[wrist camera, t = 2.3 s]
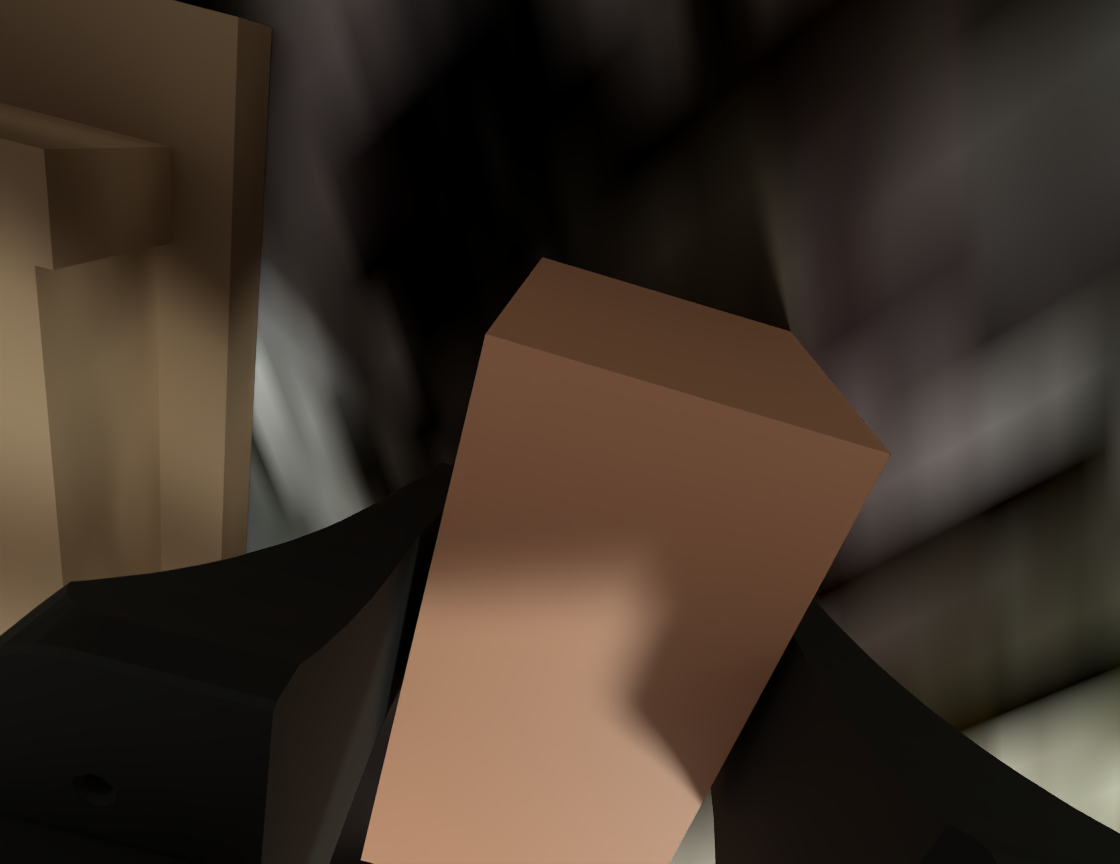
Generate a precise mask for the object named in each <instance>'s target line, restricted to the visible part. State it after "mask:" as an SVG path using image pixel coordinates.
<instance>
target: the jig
mask: <svg viewBox="0 0 1120 864" xmlns="http://www.w3.org/2000/svg"><path fill="white" fill-rule="evenodd" d="M271 35H272V27H269V26H266V25H262V24H259V23H256V22H253V21H249V20H246V19H243V18H240V17H236V16H232V15H228V14H224V13H220V12H217V11H213V10H209V9H205V8H201V7H197V6H194V5H190V4H186V3H182V2H178V1H174V0H0V635H2V634H3V633H4V632H5V631H7V630H8V629H9V628H10V627H12V626H13V625H14V624H15V623H17V622H18V621H19V620H20V619H22V618H23V617H24V616H25V615H27V614H28V613H29V612H30V611H32V610H33V609H34V608H35V607H37V606H38V605H39V604H41V603H42V602H43V601H45V600H46V599H47V598H49V597H50V596H51V595H53V594H54V593H55V592H57V591H58V590H59V589H61V588H62V587H64V586H65V585H66V584H68V583H69V582H71V581H84V580H94V579H103V578H112V577H121V576H130V575H139V574H148V573H155V572H161V571H168V570H174V569H179V568H185V567H190V566H196V565H201V564H206V563H210V562H215V561H220V560H224V559H229V558H233V557H237V556H240V555H244V554H246V542H247V522H248V502H249V481H250V461H251V441H252V420H253V400H254V380H255V360H256V339H257V319H258V299H259V278H260V258H261V238H262V218H263V197H264V177H265V157H266V137H267V116H268V96H269V76H270V55H271Z"/></svg>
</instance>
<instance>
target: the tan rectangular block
mask: <svg viewBox="0 0 1120 864" xmlns="http://www.w3.org/2000/svg"><path fill="white" fill-rule="evenodd" d="M890 455H891V454H890V452H889V451H888V450H887V449H886V448H885V446H884V445H883V444H882V443H881V441H880V440H879V439H878V438H877V437H876V435H875V434H874V433H873V432H872V430H871V429H870V428H869V427H868V426H867V424H866V423H865V422H864V421H863V419H862V418H861V417H860V416H859V415H858V413H857V412H856V411H855V410H854V408H853V407H852V406H851V405H850V404H849V402H848V401H847V400H846V399H845V397H844V396H843V395H842V394H841V393H840V391H839V390H838V389H837V388H836V386H835V385H834V384H833V383H832V382H831V380H830V379H829V378H828V377H827V375H826V374H825V373H824V372H823V371H822V369H821V368H820V367H819V366H818V364H817V363H816V362H815V361H814V360H813V358H812V357H811V356H810V355H809V353H808V352H807V351H806V350H805V349H804V347H803V346H802V345H801V344H800V342H799V341H798V340H797V339H796V338H795V336H794V335H793V334H792V333H791V332H790V331H787V330H784V329H780V328H777V327H774V326H770V325H767V324H764V323H760V322H757V321H754V320H750V319H747V318H744V317H740V316H737V315H734V314H730V313H727V312H724V311H720V310H717V309H714V308H710V307H707V306H704V305H700V304H697V303H694V302H690V301H687V300H684V299H680V298H677V297H674V296H670V295H667V294H664V293H660V292H657V291H654V290H650V289H647V288H644V287H640V286H637V285H634V284H630V283H627V282H624V281H620V280H617V279H614V278H610V277H607V276H604V275H600V274H597V273H594V272H590V271H587V270H584V269H580V268H577V267H574V266H570V265H567V264H564V263H560V262H557V261H554V260H550V259H547V258H544V257H542V258H541V260H540V261H539V262H538V264H537V265H536V267H535V268H534V269H533V271H532V272H531V273H530V275H529V276H528V277H527V279H526V280H525V281H524V283H523V284H522V285H521V287H520V288H519V289H518V291H517V292H516V293H515V295H514V296H513V298H512V299H511V300H510V302H509V303H508V304H507V306H506V307H505V308H504V310H503V311H502V312H501V314H500V315H499V316H498V318H497V319H496V320H495V322H494V323H493V325H492V326H491V327H490V329H489V330H488V331H487V333H486V334H485V338H484V342H483V347H482V351H481V355H480V359H479V364H478V368H477V372H476V376H475V380H474V385H473V389H472V393H471V397H470V402H469V406H468V410H467V414H466V418H465V423H464V427H463V431H462V435H461V439H460V444H459V448H458V452H457V456H456V461H455V465H454V469H453V473H452V477H451V482H450V486H449V490H448V494H447V498H446V503H445V507H444V511H443V515H442V520H441V524H440V528H439V532H438V536H437V541H436V545H435V549H434V553H433V558H432V562H431V566H430V570H429V574H428V579H427V583H426V587H425V591H424V595H423V600H422V604H421V608H420V612H419V617H418V621H417V625H416V629H415V633H414V638H413V642H412V646H411V650H410V654H409V659H408V663H407V667H406V671H405V676H404V680H403V684H402V688H401V692H400V697H399V701H398V705H397V709H396V714H395V718H394V722H393V726H392V730H391V735H390V739H389V743H388V747H387V751H386V756H385V760H384V764H383V768H382V773H381V777H380V781H379V785H378V789H377V794H376V798H375V802H374V806H373V810H372V815H371V819H370V823H369V827H368V832H367V836H366V840H365V844H364V848H363V853H362V857H361V860H362V861H366V862H370V863H373V864H669V863H670V862H671V860H672V858H673V856H674V854H675V852H676V850H677V849H678V847H679V845H680V843H681V841H682V839H683V837H684V836H685V834H686V832H687V830H688V828H689V826H690V825H691V823H692V821H693V819H694V817H695V815H696V813H697V812H698V810H699V808H700V806H701V804H702V802H703V801H704V799H705V797H706V795H707V793H708V791H709V789H710V788H711V786H712V784H713V782H714V780H715V778H716V776H717V775H718V773H719V771H720V769H721V767H722V765H723V764H724V762H725V760H726V758H727V756H728V754H729V752H730V751H731V749H732V747H733V745H734V743H735V741H736V740H737V738H738V736H739V734H740V732H741V730H742V728H743V727H744V725H745V723H746V721H747V719H748V717H749V715H750V714H751V712H752V710H753V708H754V706H755V704H756V703H757V701H758V699H759V697H760V695H761V693H762V691H763V690H764V688H765V686H766V684H767V682H768V680H769V679H770V677H771V675H772V673H773V671H774V669H775V667H776V666H777V664H778V662H779V660H780V658H781V656H782V654H783V653H784V651H785V649H786V647H787V645H788V643H789V642H790V640H791V638H792V636H793V634H794V632H795V630H796V629H797V627H798V625H799V623H800V621H801V619H802V618H803V616H804V614H805V612H806V610H807V608H808V606H809V605H810V603H811V601H812V599H813V597H814V595H815V593H816V592H817V590H818V588H819V586H820V584H821V582H822V581H823V579H824V577H825V575H826V573H827V571H828V569H829V568H830V566H831V564H832V562H833V560H834V558H835V557H836V555H837V553H838V551H839V549H840V547H841V545H842V544H843V542H844V540H845V538H846V536H847V534H848V532H849V531H850V529H851V527H852V525H853V523H854V521H855V520H856V518H857V516H858V514H859V512H860V510H861V508H862V507H863V505H864V503H865V501H866V499H867V497H868V496H869V494H870V492H871V490H872V488H873V486H874V484H875V483H876V481H877V479H878V477H879V475H880V473H881V471H882V470H883V468H884V466H885V464H886V462H887V460H888V459H889V457H890Z"/></svg>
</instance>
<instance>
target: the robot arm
mask: <svg viewBox="0 0 1120 864" xmlns="http://www.w3.org/2000/svg"><path fill="white" fill-rule="evenodd" d="M453 469H454V466H453V465H449V464H445V463H441V464H439V465H437V466H436V467H434V468H432V469H431V470H429V471H428V472H426V473H424V474H423V475H421V476H420V477H418V478H417V479H415V480H414V481H412V482H410V483H409V484H407V485H406V486H404V487H402V488H401V489H399V490H397V491H396V492H394V493H392V494H391V495H389V496H387V497H385V498H384V499H382V500H380V501H379V502H377V503H375V504H373V505H371V506H370V507H368V508H366V509H364V510H362V511H360V512H358V513H356V514H354V515H352V516H350V517H348V518H346V519H344V520H342V521H340V522H337V523H335V524H333V525H331V526H328V527H326V528H323V529H321V530H319V531H316V532H313V533H311V534H308V535H305V536H302V537H300V538H297V539H294V540H291V541H289V542H286V543H282V544H279V545H275V546H272V547H268V548H265V549H261V550H258V551H254V552H251V553H247V554H244V555H240V556H237V557H233V558H229V559H224V560H220V561H215V562H210V563H206V564H201V565H196V566H190V567H185V568H179V569H174V570H168V571H161V572H155V573H148V574H139V575H130V576H121V577H112V578H103V579H94V580H84V581H71V582H69V583H68V584H66V585H65V586H64V587H62V588H61V589H59V590H58V591H57V592H55V593H54V594H53V595H51V596H50V597H49V598H47V599H46V600H45V601H43V602H42V603H41V604H39V605H38V606H37V607H35V608H34V609H33V610H32V611H30V612H29V613H28V614H27V615H25V616H24V617H23V618H22V619H20V620H19V621H18V622H17V623H15V624H14V625H13V626H12V627H10V628H9V629H8V630H7V631H5V632H4V633H3V634H2V635H0V864H330V861H331V858H332V855H333V853H334V850H335V847H336V844H337V842H338V839H339V836H340V834H341V831H342V828H343V826H344V823H345V820H346V818H347V815H348V812H349V810H350V807H351V804H352V802H353V799H354V796H355V794H356V791H357V788H358V786H359V783H360V780H361V778H362V775H363V773H364V770H365V767H366V765H367V762H368V760H369V757H370V754H371V752H372V749H373V747H374V744H375V741H376V739H377V736H378V734H379V731H380V729H381V727H382V725H383V722H384V720H385V718H386V716H387V714H388V711H389V709H390V707H391V705H392V703H393V701H394V699H395V697H396V695H397V693H398V691H399V689H400V687H401V685H402V683H403V680H404V676H405V671H406V667H407V663H408V659H409V654H410V650H411V646H412V642H413V638H414V633H415V629H416V625H417V621H418V617H419V612H420V608H421V604H422V600H423V595H424V591H425V587H426V583H427V579H428V574H429V570H430V566H431V562H432V558H433V553H434V549H435V545H436V541H437V536H438V532H439V528H440V524H441V520H442V515H443V511H444V507H445V503H446V498H447V494H448V490H449V486H450V482H451V477H452V473H453ZM711 795H712V805H713V814H714V834H715V859H716V864H1120V834H1119V833H1118V832H1116V831H1114V830H1112V829H1111V828H1109V827H1107V826H1105V825H1103V824H1102V823H1100V822H1098V821H1096V820H1095V819H1093V818H1091V817H1089V816H1087V815H1086V814H1084V813H1082V812H1080V811H1079V810H1077V809H1075V808H1073V807H1072V806H1070V805H1068V804H1067V803H1065V802H1064V801H1062V800H1060V799H1059V798H1057V797H1056V796H1054V795H1052V794H1051V793H1049V792H1048V791H1046V790H1045V789H1043V788H1041V787H1040V786H1038V785H1037V784H1035V783H1034V782H1032V781H1030V780H1029V779H1027V778H1026V777H1024V776H1022V775H1021V774H1019V773H1018V772H1016V771H1015V770H1013V769H1012V768H1010V767H1009V766H1007V765H1006V764H1004V763H1003V762H1001V761H1000V760H999V759H997V758H996V757H994V756H993V755H991V754H990V753H988V752H987V751H985V750H984V749H983V748H981V747H980V746H979V745H977V744H976V743H974V742H973V741H972V740H970V739H969V738H968V737H966V736H965V735H963V734H962V733H961V732H959V731H958V730H957V729H955V728H954V727H953V726H951V725H950V724H948V723H947V722H946V721H944V720H943V719H942V718H941V717H939V716H938V715H937V714H936V713H934V712H933V711H932V710H930V709H929V708H928V707H927V706H925V705H924V704H923V703H922V702H921V701H919V700H918V699H917V698H916V697H915V696H913V695H912V694H911V693H910V692H909V691H908V690H906V689H905V688H904V687H903V686H902V685H900V684H899V683H898V682H897V681H896V680H895V679H893V678H892V677H891V676H890V675H889V674H888V673H887V672H886V671H884V670H883V669H882V668H881V667H880V666H879V665H878V664H877V663H876V662H875V661H874V660H872V659H871V658H870V657H869V656H868V655H867V654H866V653H865V652H864V651H863V650H862V649H861V648H860V647H859V646H858V645H857V644H856V643H855V642H854V641H853V640H852V639H851V638H850V637H849V636H848V635H847V634H846V633H845V632H844V631H843V630H842V629H841V628H840V627H839V626H838V625H837V624H836V623H835V622H834V621H833V620H832V618H831V617H830V616H829V615H828V614H827V613H826V612H825V611H824V610H823V609H822V608H821V607H820V606H819V604H818V603H817V602H816V601H815V600H814V599H812V601H811V603H810V605H809V606H808V608H807V610H806V612H805V614H804V616H803V618H802V619H801V621H800V623H799V625H798V627H797V629H796V630H795V632H794V634H793V636H792V638H791V640H790V642H789V643H788V645H787V647H786V649H785V651H784V653H783V654H782V656H781V658H780V660H779V662H778V664H777V666H776V667H775V669H774V671H773V673H772V675H771V677H770V679H769V680H768V682H767V684H766V686H765V688H764V690H763V691H762V693H761V695H760V697H759V699H758V701H757V703H756V704H755V706H754V708H753V710H752V712H751V714H750V715H749V717H748V719H747V721H746V723H745V725H744V727H743V728H742V730H741V732H740V734H739V736H738V738H737V740H736V741H735V743H734V745H733V747H732V749H731V751H730V752H729V754H728V756H727V758H726V760H725V762H724V764H723V765H722V767H721V769H720V771H719V773H718V775H717V776H716V778H715V780H714V782H713V784H712V786H711Z"/></svg>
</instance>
